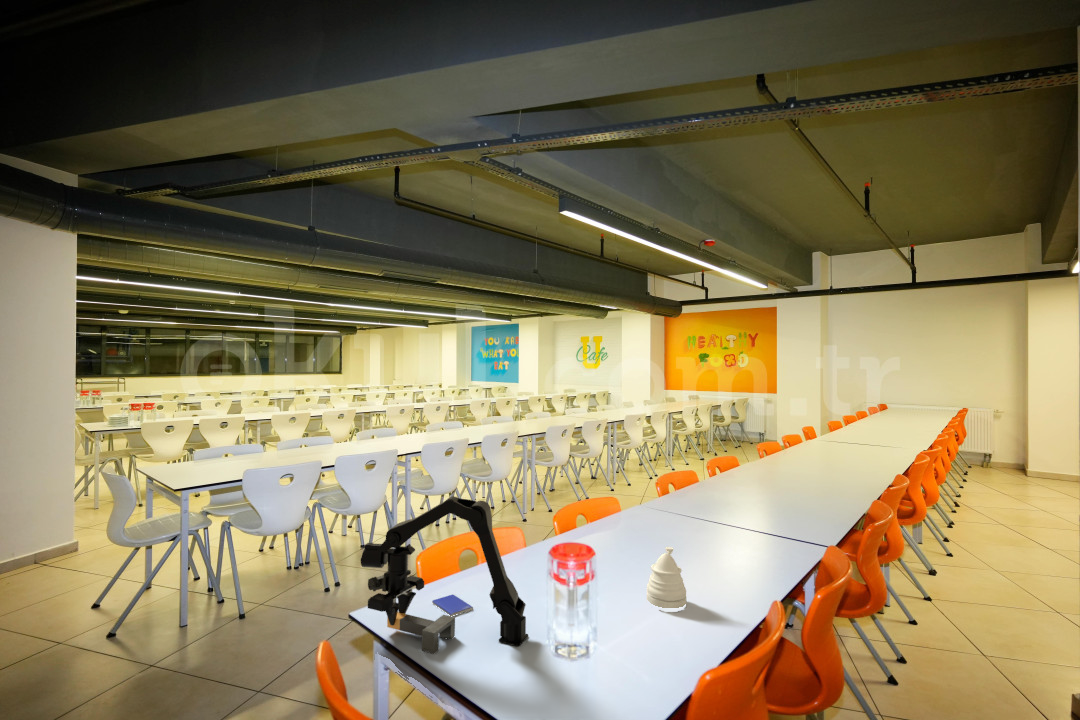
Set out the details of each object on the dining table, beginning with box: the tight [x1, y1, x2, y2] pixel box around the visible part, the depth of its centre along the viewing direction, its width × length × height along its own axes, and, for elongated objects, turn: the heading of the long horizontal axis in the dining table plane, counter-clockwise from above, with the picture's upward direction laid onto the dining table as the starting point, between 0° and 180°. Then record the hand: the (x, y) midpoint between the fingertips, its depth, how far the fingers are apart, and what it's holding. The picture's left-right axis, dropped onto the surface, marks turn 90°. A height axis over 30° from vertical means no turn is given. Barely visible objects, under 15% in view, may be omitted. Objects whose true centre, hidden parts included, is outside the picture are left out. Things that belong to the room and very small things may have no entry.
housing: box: [421, 614, 456, 655], centre depth 140 cm, size 4×10×6 cm, turn 156°
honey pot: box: [646, 546, 687, 608], centre depth 167 cm, size 13×13×18 cm
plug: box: [386, 611, 435, 637], centre depth 144 cm, size 14×4×3 cm, turn 66°
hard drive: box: [431, 594, 474, 617], centre depth 163 cm, size 2×8×12 cm
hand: (396, 622), depth 146 cm, fingers closed on plug, 3 cm apart
